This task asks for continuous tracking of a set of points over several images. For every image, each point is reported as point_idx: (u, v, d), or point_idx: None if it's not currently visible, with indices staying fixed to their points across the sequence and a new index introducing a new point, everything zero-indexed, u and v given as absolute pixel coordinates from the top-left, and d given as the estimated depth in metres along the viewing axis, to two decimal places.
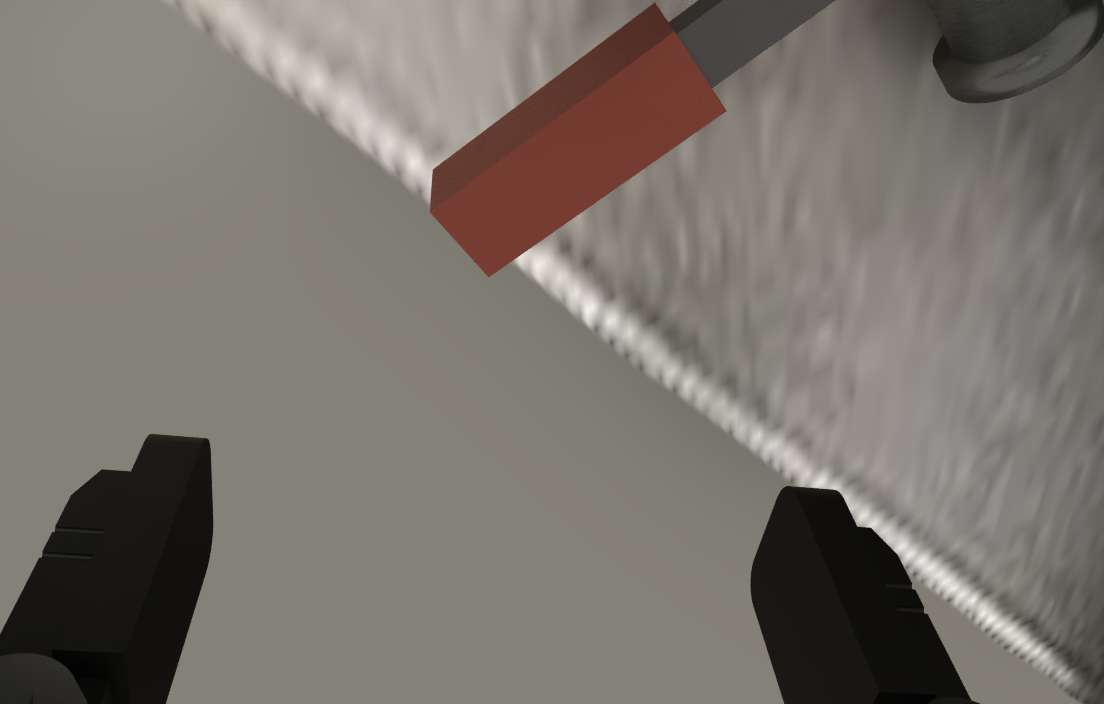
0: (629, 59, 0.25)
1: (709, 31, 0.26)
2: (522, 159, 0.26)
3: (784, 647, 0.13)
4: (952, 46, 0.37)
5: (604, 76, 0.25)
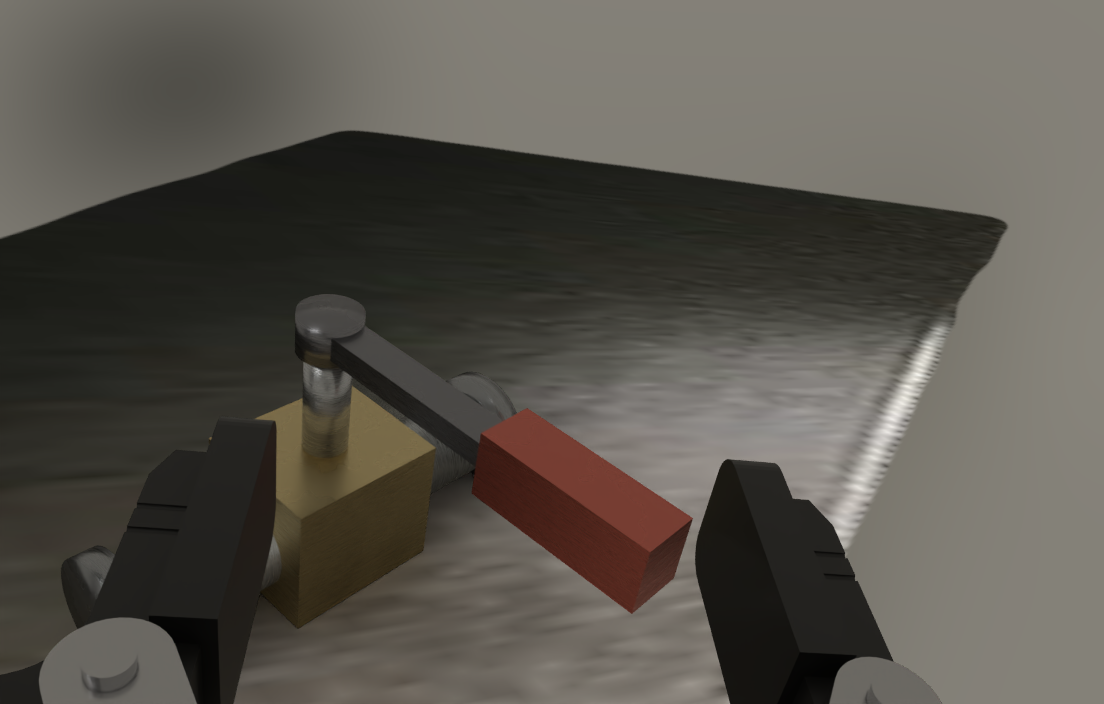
0: (504, 457, 0.36)
1: (480, 433, 0.38)
2: (590, 501, 0.34)
3: (722, 616, 0.14)
4: None
5: (520, 470, 0.36)
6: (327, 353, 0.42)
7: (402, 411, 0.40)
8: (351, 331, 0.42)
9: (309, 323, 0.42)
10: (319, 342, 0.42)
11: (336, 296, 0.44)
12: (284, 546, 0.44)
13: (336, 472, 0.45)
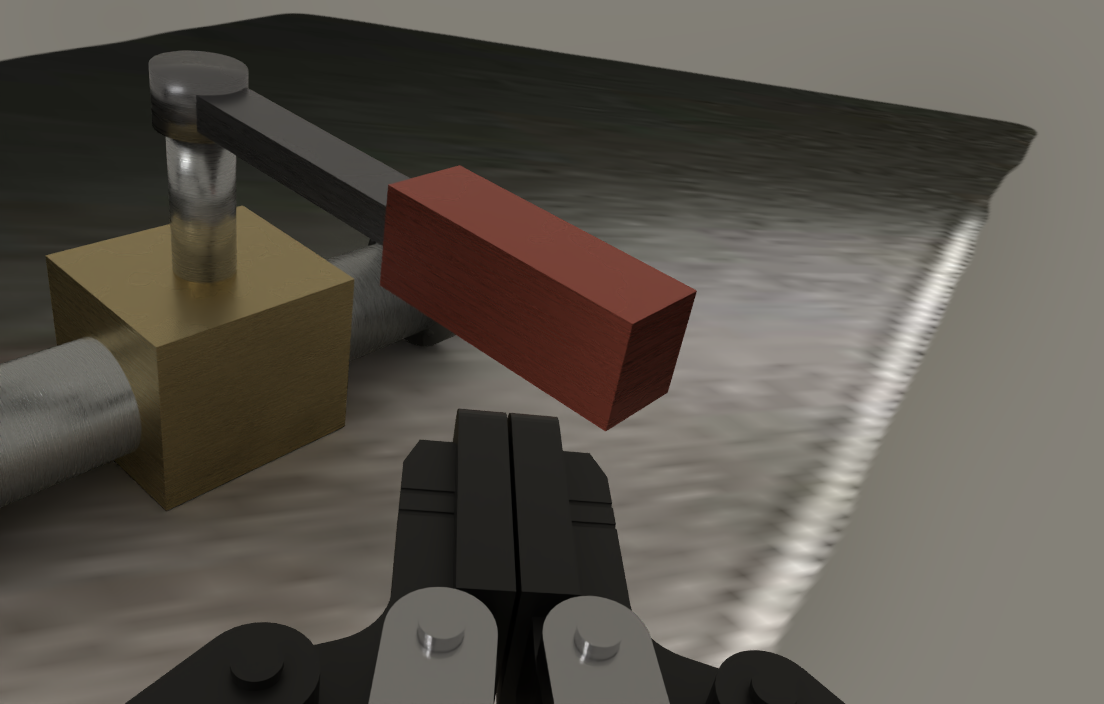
0: (421, 216, 0.25)
1: None
2: (543, 264, 0.23)
3: None
4: None
5: (443, 232, 0.24)
6: (191, 118, 0.31)
7: (288, 184, 0.29)
8: (225, 88, 0.31)
9: (165, 74, 0.30)
10: (179, 101, 0.30)
11: (211, 54, 0.32)
12: (141, 393, 0.33)
13: (215, 299, 0.34)
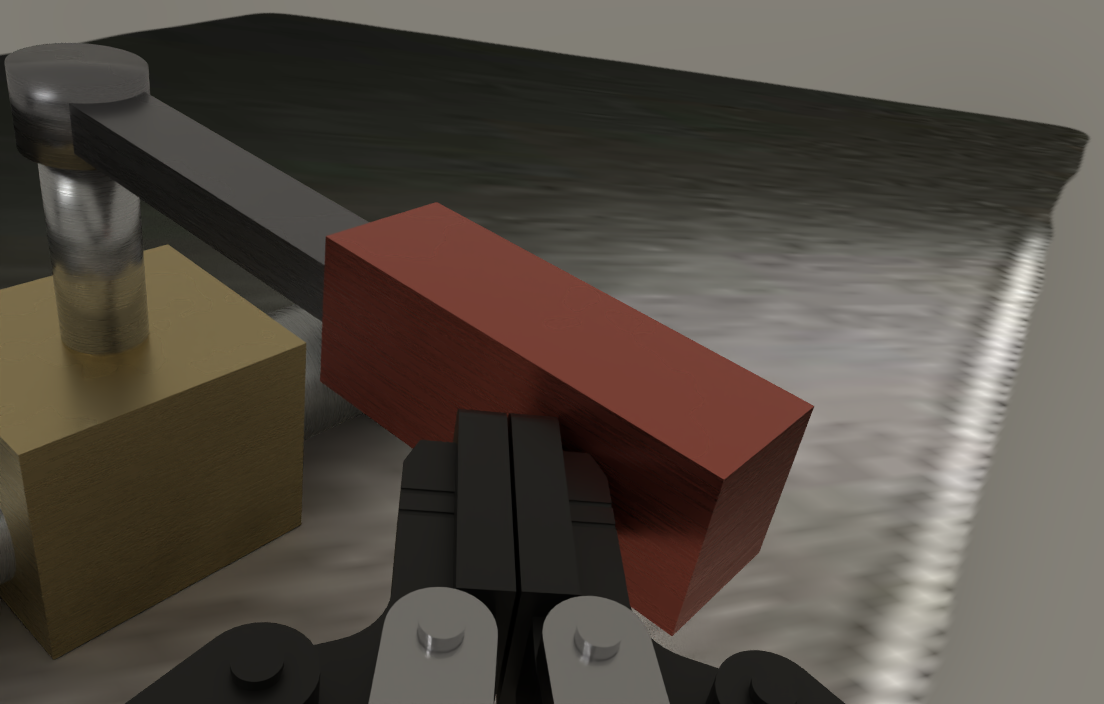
0: (376, 286, 0.16)
1: None
2: (568, 367, 0.14)
3: None
4: None
5: (408, 311, 0.16)
6: (65, 136, 0.22)
7: (193, 229, 0.20)
8: (111, 93, 0.22)
9: (24, 74, 0.22)
10: (47, 112, 0.22)
11: (99, 47, 0.24)
12: (9, 510, 0.24)
13: (113, 378, 0.25)
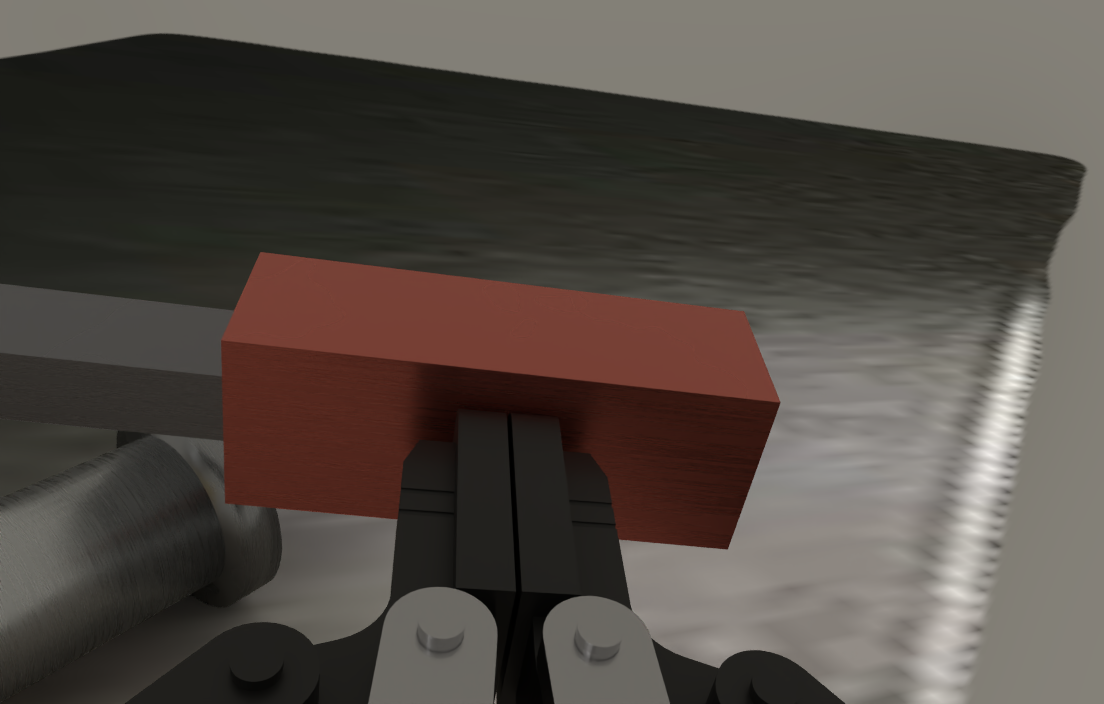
0: (317, 370, 0.14)
1: (185, 353, 0.14)
2: (583, 367, 0.14)
3: None
4: (200, 562, 0.25)
5: (373, 382, 0.14)
6: None
7: None
8: None
9: None
10: None
11: None
12: None
13: None
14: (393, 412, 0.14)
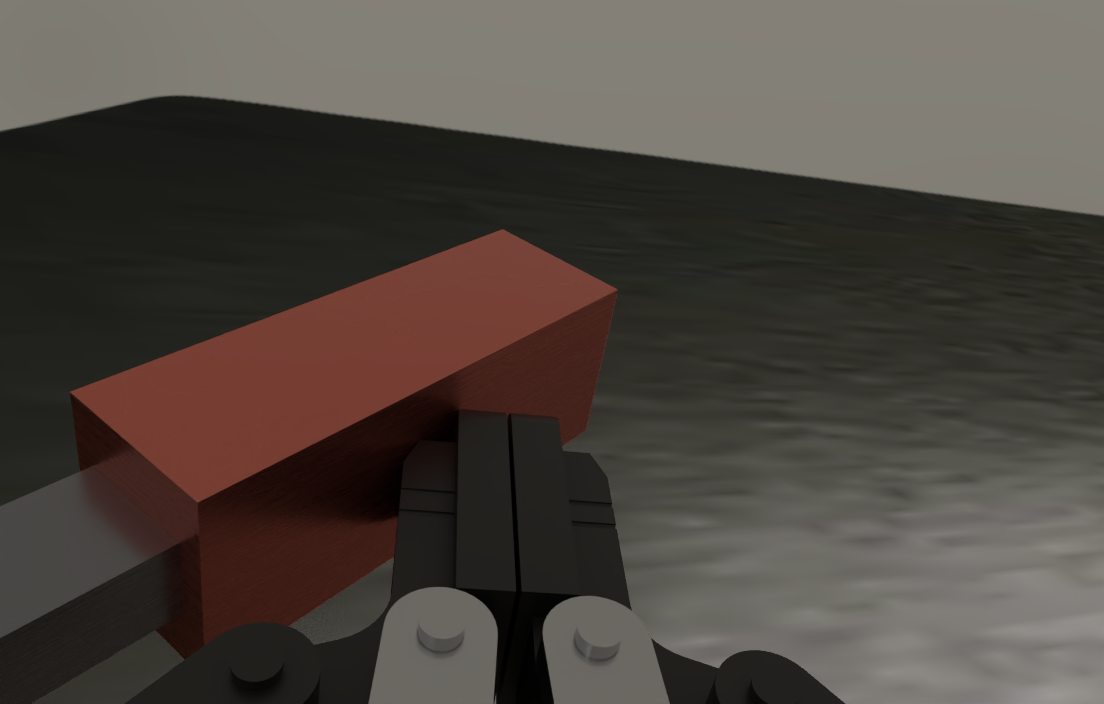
0: (294, 474, 0.12)
1: (96, 551, 0.11)
2: (485, 337, 0.14)
3: None
4: None
5: (344, 453, 0.12)
6: None
7: None
8: None
9: None
10: None
11: None
12: None
13: None
14: (361, 473, 0.13)
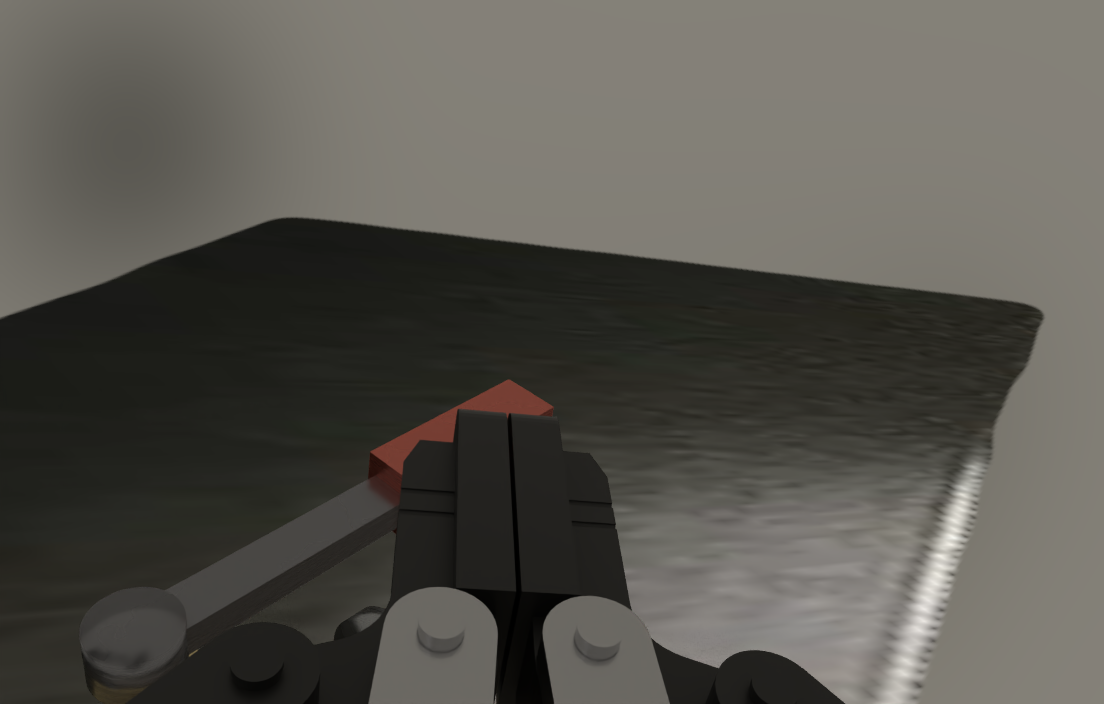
0: None
1: (384, 501, 0.36)
2: None
3: None
4: None
5: None
6: (187, 650, 0.31)
7: (308, 579, 0.34)
8: None
9: (166, 644, 0.29)
10: (183, 647, 0.30)
11: (87, 619, 0.29)
12: None
13: None
14: None
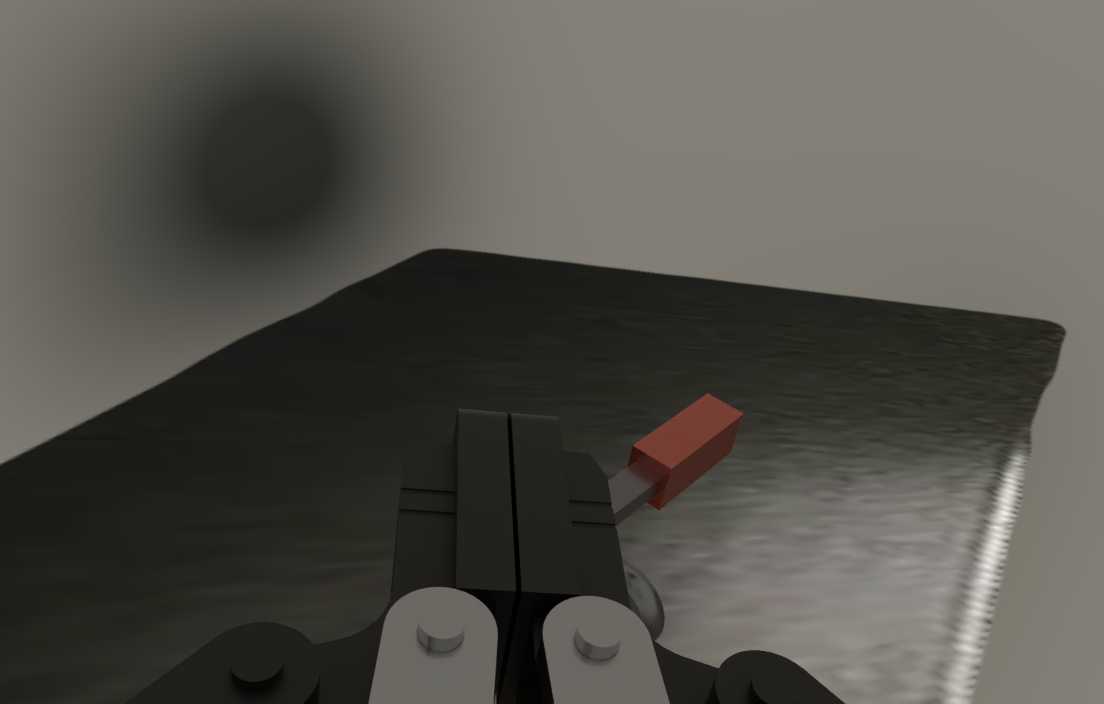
0: (682, 463, 0.54)
1: (647, 479, 0.53)
2: (713, 429, 0.57)
3: None
4: None
5: (690, 459, 0.55)
6: None
7: None
8: None
9: None
10: None
11: None
12: None
13: None
14: (690, 463, 0.55)
